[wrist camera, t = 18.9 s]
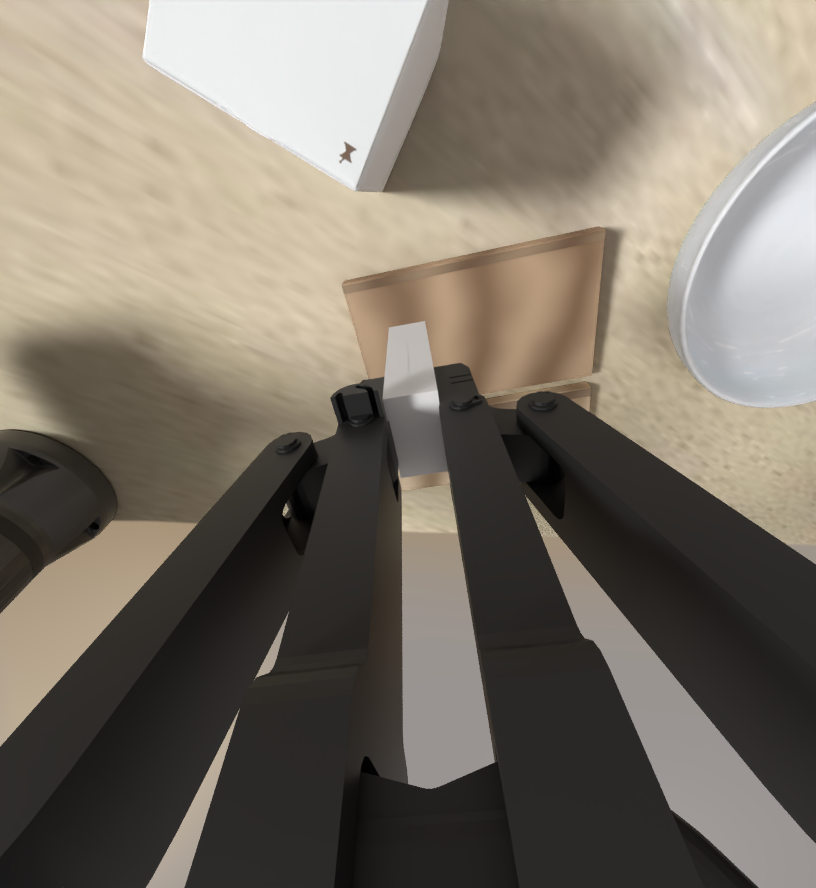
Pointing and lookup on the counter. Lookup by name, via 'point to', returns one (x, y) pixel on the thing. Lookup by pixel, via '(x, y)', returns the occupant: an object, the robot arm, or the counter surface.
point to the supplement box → (307, 72)
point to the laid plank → (573, 391)
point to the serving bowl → (753, 276)
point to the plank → (492, 310)
